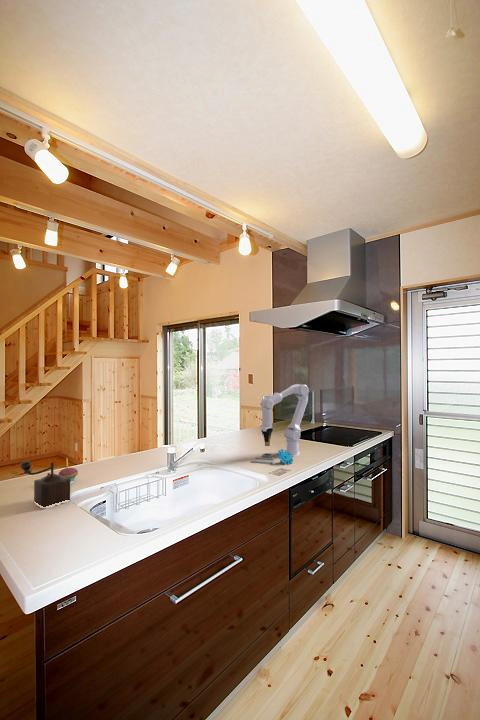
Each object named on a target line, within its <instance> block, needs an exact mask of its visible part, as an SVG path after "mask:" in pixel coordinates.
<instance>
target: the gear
mask: <svg viewBox="0 0 480 720" xmlns="http://www.w3.org/2000/svg"><path fill="white" fill-rule="evenodd" d="M276 455H277V458H278V459H279V462H280V463H282V462H283V465H289V466H290V465H292V464H293V461H294V457H295V456H294V455H292V456H290V452H289V453H287V449H285V450H284V449H283V448H282V449H279V450H278V452H277V454H276Z"/></svg>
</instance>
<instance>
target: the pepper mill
mask: <svg viewBox="0 0 480 720" xmlns="http://www.w3.org/2000/svg"><path fill="white" fill-rule="evenodd" d="M31 467H32V462H31V461H30V460H25V461H22V462H21V463H20V469H21V470H23V474H27V475H31V476H34V475H39V474H42V473H45V472H46V471H49V470H50V472H48V473H47V475H46V476H43V477H41V478H39V479H35V480H33V481H34V482H33V487H34V488H33V502H34V501H35V502H36V503H38V504H39V505H41V506H43V507H46V506H49V505H52V504H55V503H59V502H62V501H65V500H70V501H71V484H70V479H69V478H67V477H64V476H62V475H60V474H59V473H58V474H59V475H58V474H56V473H55V472H54V468H55V462H54V461H51V462H50V466H49V467H47V468H44V469H42V470H39V471H36V472H32V471H33V470H32V469H31Z"/></svg>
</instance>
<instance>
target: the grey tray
mask: <svg viewBox="0 0 480 720" xmlns="http://www.w3.org/2000/svg"><path fill="white" fill-rule="evenodd" d="M275 461H276V458H274V457H273V458H262V456H261V457H259V456H254V458H253V459H251V461H250V462H251V463H255V464H267V465H268V464H269V465H272V464H273V463H274V462H275Z"/></svg>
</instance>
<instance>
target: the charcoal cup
mask: <svg viewBox="0 0 480 720" xmlns="http://www.w3.org/2000/svg"><path fill="white" fill-rule="evenodd" d="M261 458H274V454H273V453H271V452H270V453H268V452H265V453H262V454H261Z"/></svg>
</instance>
